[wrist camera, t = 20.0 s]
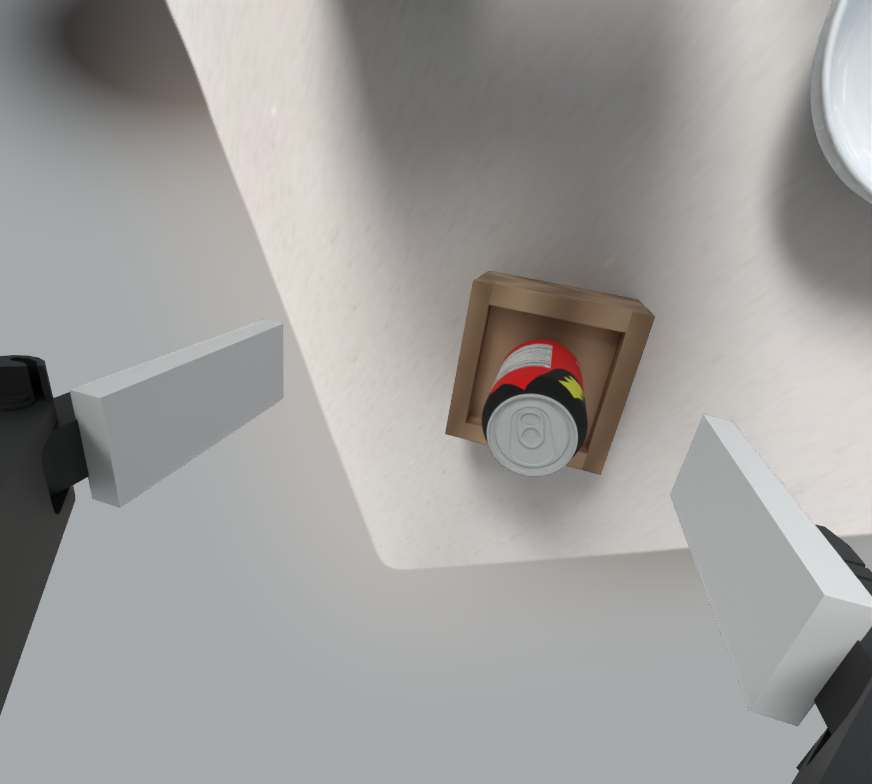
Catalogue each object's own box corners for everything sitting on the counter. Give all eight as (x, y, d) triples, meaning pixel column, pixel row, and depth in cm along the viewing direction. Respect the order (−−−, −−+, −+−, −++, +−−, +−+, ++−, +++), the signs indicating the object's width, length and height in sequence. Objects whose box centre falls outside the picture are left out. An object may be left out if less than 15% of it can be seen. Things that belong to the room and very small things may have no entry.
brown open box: (463, 401, 46) (445, 433, 39) (488, 271, 41) (473, 280, 34) (594, 434, 44) (600, 474, 36) (638, 299, 39) (655, 316, 32)
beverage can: (504, 411, 39) (481, 484, 28) (498, 338, 37) (471, 386, 26) (582, 409, 37) (590, 487, 26) (580, 333, 35) (588, 382, 24)
